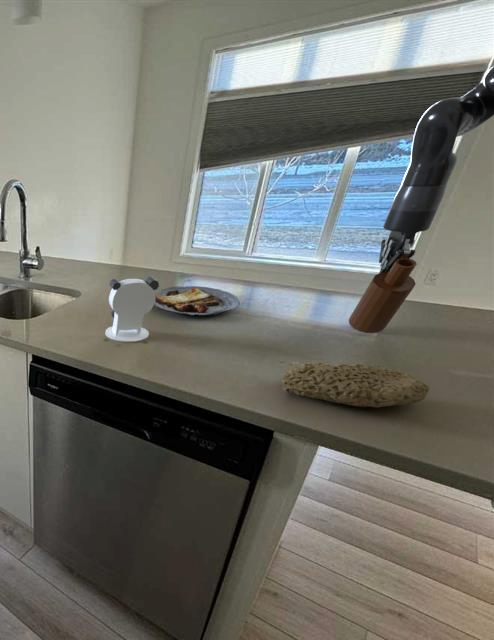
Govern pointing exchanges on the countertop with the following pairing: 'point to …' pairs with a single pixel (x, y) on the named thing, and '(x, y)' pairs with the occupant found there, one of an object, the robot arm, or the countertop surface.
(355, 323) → the bottle
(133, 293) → the panda figurine
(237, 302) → the food plate
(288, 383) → the sponge
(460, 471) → the countertop surface
